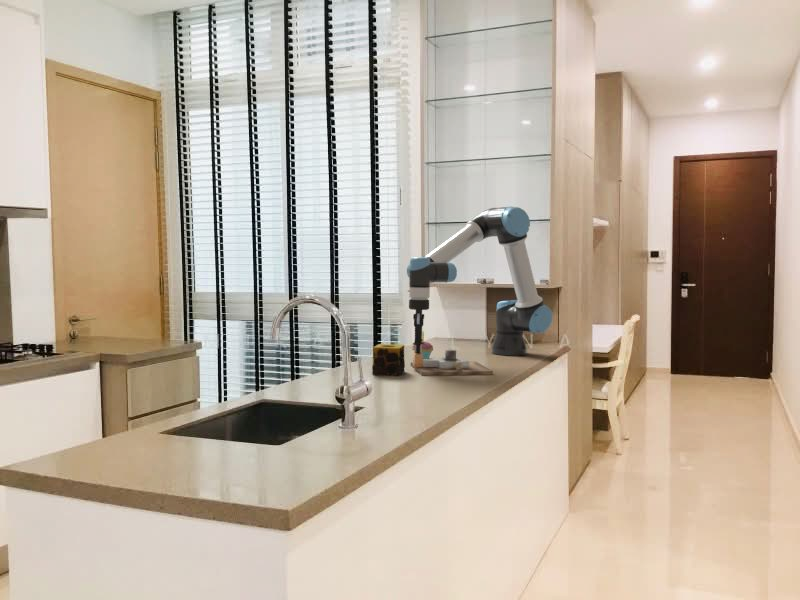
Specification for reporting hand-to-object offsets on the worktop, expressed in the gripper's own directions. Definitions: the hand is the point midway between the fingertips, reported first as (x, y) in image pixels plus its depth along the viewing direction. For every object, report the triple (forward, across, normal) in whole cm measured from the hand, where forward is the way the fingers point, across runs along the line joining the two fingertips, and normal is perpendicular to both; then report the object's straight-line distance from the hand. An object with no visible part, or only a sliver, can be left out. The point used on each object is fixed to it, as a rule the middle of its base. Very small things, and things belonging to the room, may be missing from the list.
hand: (417, 361), depth 271 cm
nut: (+1, +2, +8) cm, 8 cm away
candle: (+3, +11, -10) cm, 15 cm away
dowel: (+1, +9, +15) cm, 18 cm away
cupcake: (+3, -25, +1) cm, 25 cm away
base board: (+3, 0, +12) cm, 13 cm away
